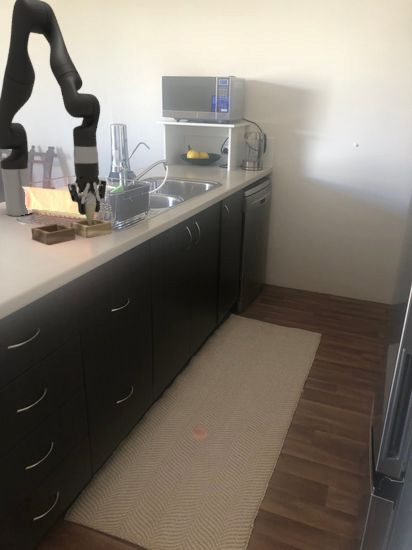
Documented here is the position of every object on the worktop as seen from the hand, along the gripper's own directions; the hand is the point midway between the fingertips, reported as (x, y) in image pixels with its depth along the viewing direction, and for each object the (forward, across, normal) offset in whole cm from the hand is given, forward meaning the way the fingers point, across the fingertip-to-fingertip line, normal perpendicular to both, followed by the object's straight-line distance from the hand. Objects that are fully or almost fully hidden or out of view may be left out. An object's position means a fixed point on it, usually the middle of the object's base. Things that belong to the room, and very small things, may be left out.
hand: (89, 212), depth 143 cm
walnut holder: (+7, +13, -2) cm, 15 cm away
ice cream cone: (+5, 0, 0) cm, 5 cm away
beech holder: (+7, 0, 0) cm, 7 cm away
